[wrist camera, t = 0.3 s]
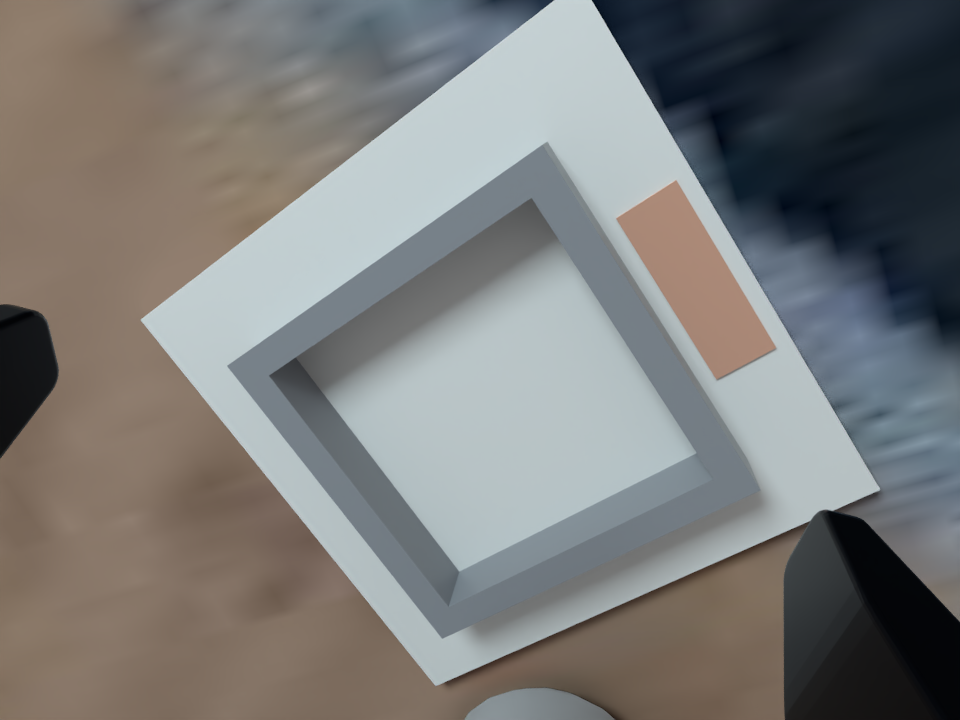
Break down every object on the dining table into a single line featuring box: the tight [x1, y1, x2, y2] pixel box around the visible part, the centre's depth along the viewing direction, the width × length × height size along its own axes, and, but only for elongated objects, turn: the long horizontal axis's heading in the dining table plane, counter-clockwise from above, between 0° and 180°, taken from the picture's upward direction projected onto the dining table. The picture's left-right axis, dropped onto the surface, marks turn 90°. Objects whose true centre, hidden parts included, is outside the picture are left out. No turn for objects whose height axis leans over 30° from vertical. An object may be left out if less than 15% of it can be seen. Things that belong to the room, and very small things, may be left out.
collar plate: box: [141, 0, 880, 686], centre depth 23 cm, size 18×18×3 cm
